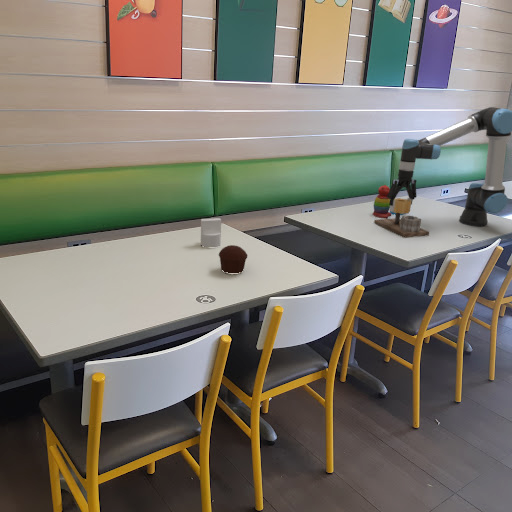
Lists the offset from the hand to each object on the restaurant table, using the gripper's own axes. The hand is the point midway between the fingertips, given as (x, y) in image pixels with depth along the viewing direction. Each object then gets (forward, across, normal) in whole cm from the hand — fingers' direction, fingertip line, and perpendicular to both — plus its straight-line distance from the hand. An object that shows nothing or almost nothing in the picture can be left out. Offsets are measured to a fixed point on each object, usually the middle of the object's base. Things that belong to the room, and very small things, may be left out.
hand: (399, 210), depth 272 cm
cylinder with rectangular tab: (+10, +107, +4) cm, 107 cm away
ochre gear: (0, 0, 0) cm, 0 cm away
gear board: (+9, 0, +3) cm, 10 cm away
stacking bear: (+10, -6, -23) cm, 26 cm away
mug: (+10, -20, -24) cm, 33 cm away
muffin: (+10, +108, +36) cm, 114 cm away
